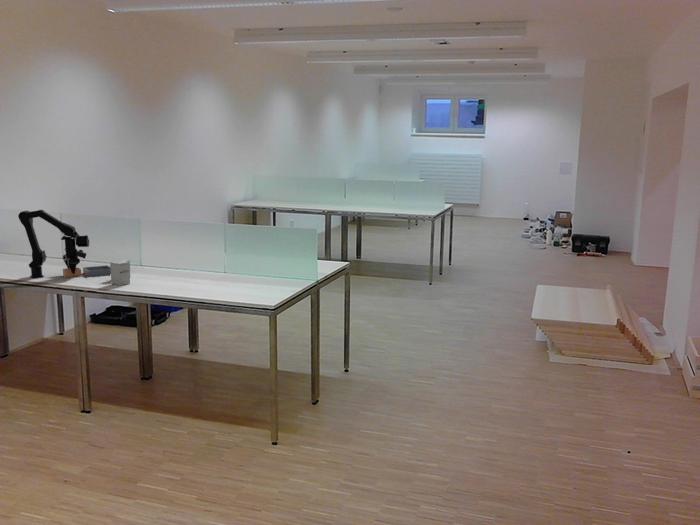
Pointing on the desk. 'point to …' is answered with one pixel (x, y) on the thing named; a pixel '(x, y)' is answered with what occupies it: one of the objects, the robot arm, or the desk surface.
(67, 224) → the robot arm
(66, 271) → the small crate
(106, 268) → the big crate
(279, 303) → the desk surface
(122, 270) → the supplement box
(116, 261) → the light bulb box
